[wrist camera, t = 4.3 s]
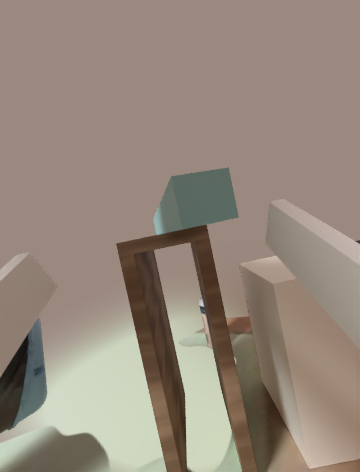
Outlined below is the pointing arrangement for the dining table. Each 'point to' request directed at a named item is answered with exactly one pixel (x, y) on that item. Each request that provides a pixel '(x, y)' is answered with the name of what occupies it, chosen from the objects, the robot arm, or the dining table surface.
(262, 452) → the dining table surface
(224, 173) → the bar
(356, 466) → the dining table surface
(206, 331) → the beer can
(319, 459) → the pillar
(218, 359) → the tall wooden grooved block
